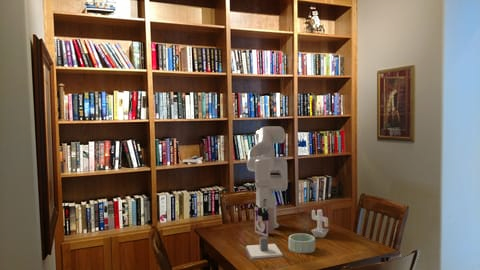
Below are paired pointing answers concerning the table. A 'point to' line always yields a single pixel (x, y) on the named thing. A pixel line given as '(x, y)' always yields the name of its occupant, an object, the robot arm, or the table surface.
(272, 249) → the lid
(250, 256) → the mat
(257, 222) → the greeting card
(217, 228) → the table surface
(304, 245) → the bowl
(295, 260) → the table surface
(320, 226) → the figurine
